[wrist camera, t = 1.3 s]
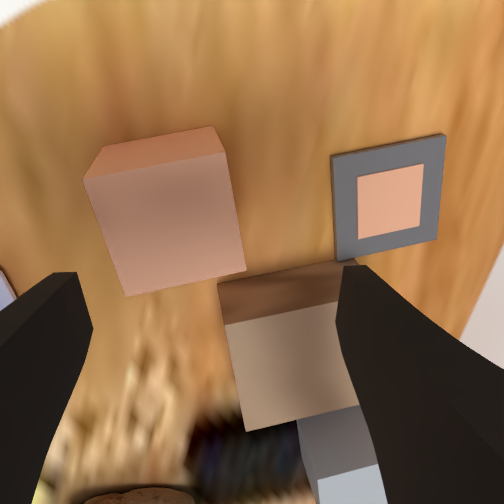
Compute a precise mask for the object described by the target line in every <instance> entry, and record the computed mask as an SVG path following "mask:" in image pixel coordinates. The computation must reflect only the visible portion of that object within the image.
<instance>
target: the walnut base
mask: <svg viewBox="0 0 504 504" xmlns="http://www.w3.org/2000/svg"><path fill="white" fill-rule="evenodd" d="M352 265H359V264H358V263H357V261H356V260H355V259H354V258H351V259H346V260H342V261H337V260H332V261H327V262H322V263H317V264H312V265H307V266H302V267H297V268H292V269H287V270H283V271H278V272H273V273H268V274H263V275H258V276H253V277H248V278H243V279H238V280H233V281H228V282H223V283H218V284H217V288H218V293H219V299H220V304H221V310H222V315H223V321H224V326H225V331H226V336H227V341H228V346H229V351H230V356H231V361H232V366H233V371H234V375H235V380H236V385H237V390H238V395H239V400H240V405H241V410H242V415H243V420H244V424H245V429H246V432H247V431H251V430H255V429H259V428H264V427H268V426H272V425H276V424H280V423H284V422H289V421H293V420H297V419H301V418H305V417H310V416H314V415H318V414H322V413H326V412H330V411H335V410H339V409H343V408H347V407H351V406H356V405H360V404H359V401H358V398H357V396H356V393H355V390H354V387H353V385H352V382H351V379H350V376H349V373H348V370H347V367H346V365H345V362H344V359H343V356H342V352H341V348H340V343H339V339H338V334H337V329H336V324H335V318H336V312H337V306H338V299H339V293H340V286H341V280H342V273H343V267H344V266H352Z"/></svg>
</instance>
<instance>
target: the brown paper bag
mask: <svg viewBox="0 0 504 504" xmlns="http://www.w3.org/2000/svg"><path fill="white" fill-rule="evenodd" d="M84 504H195V501H194V499H193V498H192V496H191V495H189V494H188V493H185V492H182V491H177V490H173V489H170V488H156V487H151V488H140V489H135V490H131V491H130V492H127V493H124V494H119V493H111V494H107V495H102V496H96V497H93V498H91V499H89V500H88V501H86V502H85V503H84Z"/></svg>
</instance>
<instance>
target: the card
mask: <svg viewBox="0 0 504 504" xmlns="http://www.w3.org/2000/svg"><path fill="white" fill-rule="evenodd" d="M446 137H447V136H446V135H444V134H439V135H434V136H429V137H424V138H419V139H414V140H409V141H404V142H399V143H394V144H389V145H384V146H379V147H374V148H369V149H364V150H359V151H354V152H349V153H344V154H339V155H334V156H330V162H331V182H332V203H333V224H334V245H335V259H336V260H337V261H342V260H346V259H351V258H355V257H360V256H364V255H369V254H373V253H378V252H382V251H387V250H391V249H396V248H400V247H405V246H409V245H414V244H418V243H423V242H427V241H432V240H436V239H437V229H438V219H439V209H440V198H441V188H442V178H443V167H444V157H445V147H446Z"/></svg>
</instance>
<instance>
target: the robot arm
mask: <svg viewBox="0 0 504 504" xmlns="http://www.w3.org/2000/svg"><path fill="white" fill-rule="evenodd" d="M335 324H336V329H337V334H338V339H339V343H340V348H341V352H342V356H343V359H344V362H345V365H346V367H347V370H348V373H349V376H350V379H351V382H352V385H353V387H354V390H355V393H356V396H357V398H358V401H359V404H360V407H361V410H362V412H363V415H364V418H365V421H366V424H367V426H368V429H369V433H370V436H371V439H372V442H373V446H374V450H375V454H376V458H377V462H378V466H379V470H380V474H381V478H382V482H383V486H384V490H385V495H386V499H387V503H388V504H504V369H502V368H500V367H499V366H497V365H495V364H494V363H492V362H491V361H489V360H488V359H486V358H484V357H483V356H481V355H480V354H478V353H477V352H475V351H474V350H472V349H470V348H469V347H467V346H466V345H464V344H463V343H462V342H460V341H459V340H457V339H456V338H454V337H453V336H452V335H450V334H449V333H448V332H446V331H445V330H444V329H442V328H441V327H439V326H438V325H437V324H435V323H434V322H433V321H432V320H430V319H429V318H428V317H426V316H425V315H424V314H423V313H421V312H420V311H419V310H418V309H416V308H415V307H414V306H413V305H412V304H410V303H409V302H408V301H407V300H406V299H404V298H403V297H402V296H401V295H400V294H399V293H397V292H396V291H395V290H394V289H393V288H392V287H391V286H389V285H388V284H387V283H386V282H385V281H384V280H383V279H381V278H380V277H379V276H378V275H377V274H376V273H375V272H373V271H372V270H371V269H370V268H369V267H367V266H366V265H352V266H344V267H343V273H342V280H341V286H340V293H339V299H338V306H337V312H336V318H335ZM92 332H93V326H92V323H91V319H90V316H89V312H88V309H87V306H86V302H85V299H84V295H83V292H82V289H81V285H80V282H79V278H78V275H77V272H58V273H52V274H51V275H49V276H47V277H46V278H45V279H43V280H42V281H40V282H39V283H37V284H36V285H35V286H33V287H32V288H31V289H29V290H28V291H27V292H25V293H24V294H22V295H21V296H20V297H18V298H17V297H16V296H15V294H14V292H13V290H12V288H11V286H10V285H9V283H8V281H7V279H6V277H5V275H4V274H3V272H2V271H1V270H0V504H31V503H32V500H33V496H34V493H35V490H36V487H37V483H38V480H39V477H40V474H41V470H42V467H43V464H44V461H45V458H46V455H47V452H48V450H49V447H50V444H51V442H52V439H53V437H54V434H55V432H56V430H57V427H58V425H59V423H60V420H61V418H62V415H63V413H64V411H65V408H66V406H67V404H68V401H69V399H70V397H71V394H72V392H73V389H74V387H75V385H76V382H77V380H78V377H79V375H80V372H81V370H82V367H83V365H84V362H85V359H86V355H87V352H88V348H89V344H90V340H91V336H92Z"/></svg>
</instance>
